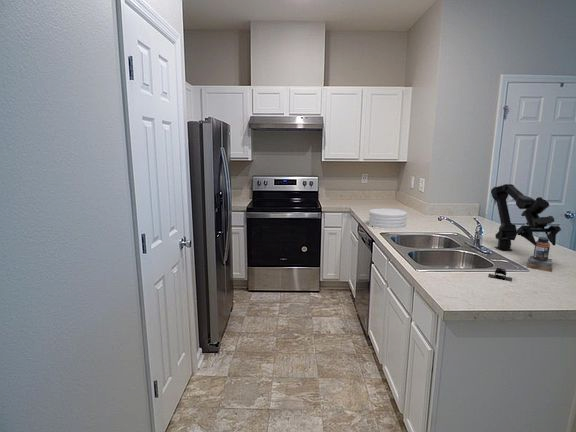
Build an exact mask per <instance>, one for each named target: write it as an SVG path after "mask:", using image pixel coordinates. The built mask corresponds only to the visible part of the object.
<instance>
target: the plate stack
mask: <svg viewBox="0 0 576 432" xmlns="http://www.w3.org/2000/svg"><path fill="white" fill-rule="evenodd" d="M407 214H408V212H407V211H405V210H402V209H397V208H383V207H382V208H373V209H369V214H368V215H369V216H368V226H369V225H370V226H373V227H378V228H384V229H399V228H404V227H407V226H406V225H407V218H408V216H407ZM370 226H369V227H370ZM373 227H372V228H373ZM404 229H405V228H404Z"/></svg>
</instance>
